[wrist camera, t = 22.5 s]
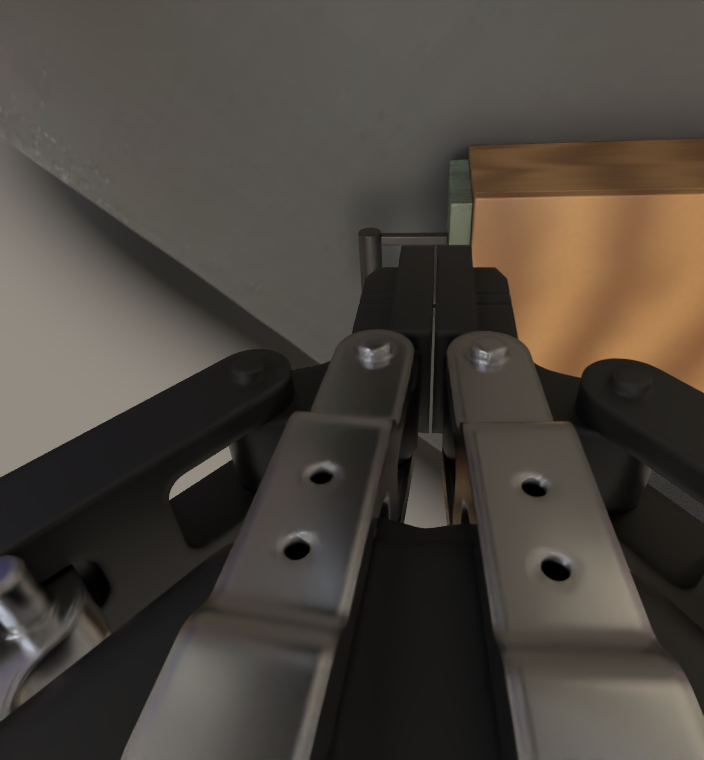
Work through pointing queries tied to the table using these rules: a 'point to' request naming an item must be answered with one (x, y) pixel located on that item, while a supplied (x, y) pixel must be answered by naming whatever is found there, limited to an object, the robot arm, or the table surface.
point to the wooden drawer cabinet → (597, 249)
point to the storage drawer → (456, 233)
